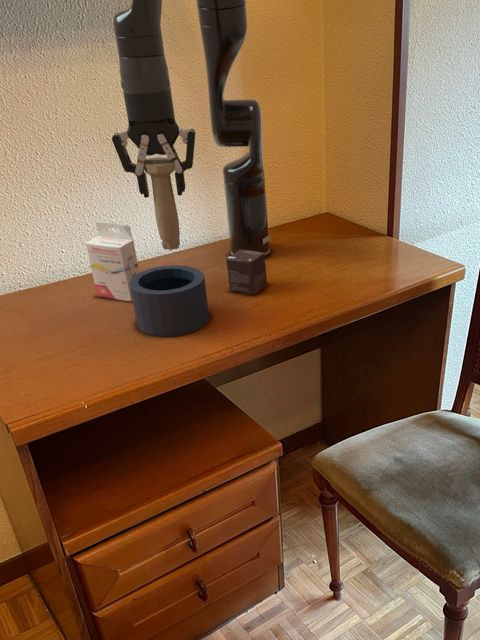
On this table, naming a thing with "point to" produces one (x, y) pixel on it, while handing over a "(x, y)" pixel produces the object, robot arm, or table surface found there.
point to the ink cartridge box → (113, 261)
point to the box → (246, 271)
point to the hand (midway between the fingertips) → (163, 194)
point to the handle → (164, 200)
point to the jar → (169, 300)
